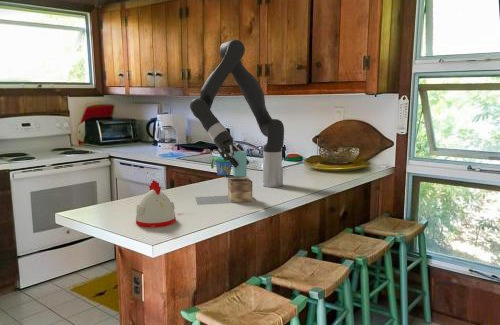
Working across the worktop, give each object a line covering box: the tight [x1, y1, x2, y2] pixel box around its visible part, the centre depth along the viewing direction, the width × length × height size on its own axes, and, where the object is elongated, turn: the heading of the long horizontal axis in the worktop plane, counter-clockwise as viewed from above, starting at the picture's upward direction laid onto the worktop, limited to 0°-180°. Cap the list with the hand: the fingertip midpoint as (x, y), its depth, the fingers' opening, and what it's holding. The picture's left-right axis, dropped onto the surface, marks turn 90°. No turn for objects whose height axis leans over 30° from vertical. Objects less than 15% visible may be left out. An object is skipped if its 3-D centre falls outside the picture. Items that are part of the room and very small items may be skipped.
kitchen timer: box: [135, 179, 177, 229], centre depth 154 cm, size 14×14×15 cm
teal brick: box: [232, 150, 248, 178], centre depth 183 cm, size 5×5×10 cm
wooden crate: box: [227, 177, 254, 203], centre depth 184 cm, size 9×9×8 cm
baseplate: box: [194, 195, 256, 206], centre depth 185 cm, size 24×14×1 cm, turn 101°
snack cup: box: [210, 155, 233, 177], centre depth 248 cm, size 16×10×10 cm
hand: (242, 165), depth 182 cm, fingers closed on teal brick, 7 cm apart
